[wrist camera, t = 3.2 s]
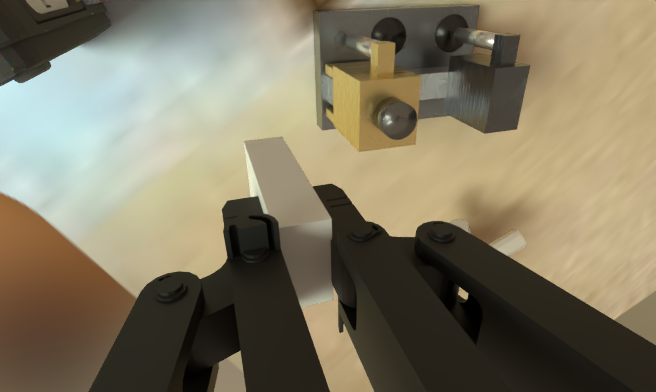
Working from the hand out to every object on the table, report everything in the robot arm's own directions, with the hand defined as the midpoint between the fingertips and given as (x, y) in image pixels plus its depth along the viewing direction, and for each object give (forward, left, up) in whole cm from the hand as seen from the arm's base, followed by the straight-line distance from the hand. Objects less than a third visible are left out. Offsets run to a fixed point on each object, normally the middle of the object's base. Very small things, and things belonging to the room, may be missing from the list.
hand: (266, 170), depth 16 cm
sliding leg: (-8, -1, -12) cm, 15 cm away
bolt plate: (-12, -1, -14) cm, 19 cm away
